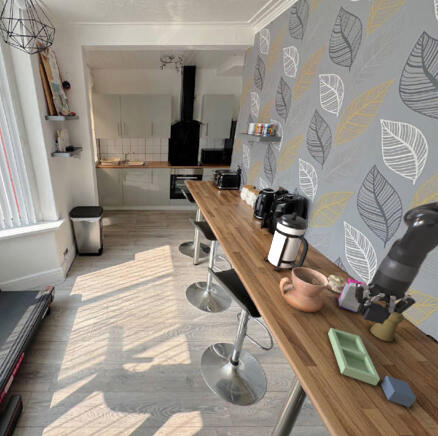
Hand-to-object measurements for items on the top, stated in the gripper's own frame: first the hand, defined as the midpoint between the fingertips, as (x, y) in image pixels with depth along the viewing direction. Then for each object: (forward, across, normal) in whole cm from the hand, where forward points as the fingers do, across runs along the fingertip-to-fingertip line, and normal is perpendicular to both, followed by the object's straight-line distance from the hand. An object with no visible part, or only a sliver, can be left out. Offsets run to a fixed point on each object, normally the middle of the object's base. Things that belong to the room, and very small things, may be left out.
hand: (370, 315), depth 75 cm
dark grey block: (0, 0, 0) cm, 0 cm away
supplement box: (+14, +4, +22) cm, 26 cm away
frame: (+14, -3, -6) cm, 15 cm away
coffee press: (+14, -19, +42) cm, 48 cm away
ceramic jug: (+14, -15, +15) cm, 25 cm away
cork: (+14, +11, +10) cm, 20 cm away
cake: (+14, +3, +35) cm, 38 cm away
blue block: (+14, +5, -15) cm, 21 cm away
